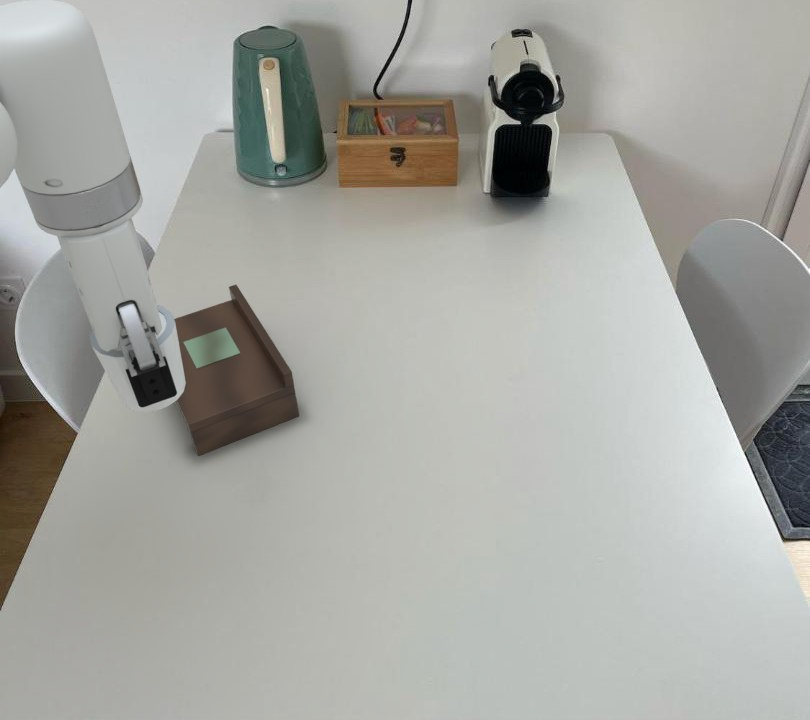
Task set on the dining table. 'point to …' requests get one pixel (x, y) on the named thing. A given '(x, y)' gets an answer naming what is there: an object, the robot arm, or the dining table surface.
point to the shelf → (231, 375)
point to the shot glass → (116, 361)
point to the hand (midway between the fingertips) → (146, 370)
